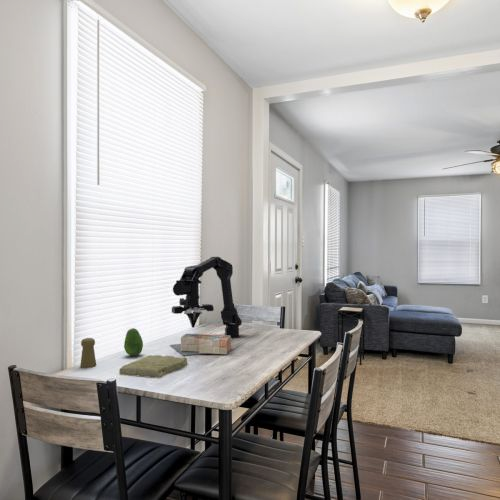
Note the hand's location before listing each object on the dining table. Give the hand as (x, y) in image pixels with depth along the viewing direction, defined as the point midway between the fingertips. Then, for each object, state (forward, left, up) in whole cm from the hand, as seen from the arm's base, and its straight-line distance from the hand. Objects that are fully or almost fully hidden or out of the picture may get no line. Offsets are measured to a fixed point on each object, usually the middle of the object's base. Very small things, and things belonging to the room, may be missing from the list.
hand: (193, 327), depth 191 cm
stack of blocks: (-7, +2, -7) cm, 10 cm away
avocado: (+27, 0, -10) cm, 29 cm away
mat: (+2, 0, -10) cm, 10 cm away
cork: (+46, +8, -10) cm, 48 cm away
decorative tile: (+23, +25, -11) cm, 36 cm away
